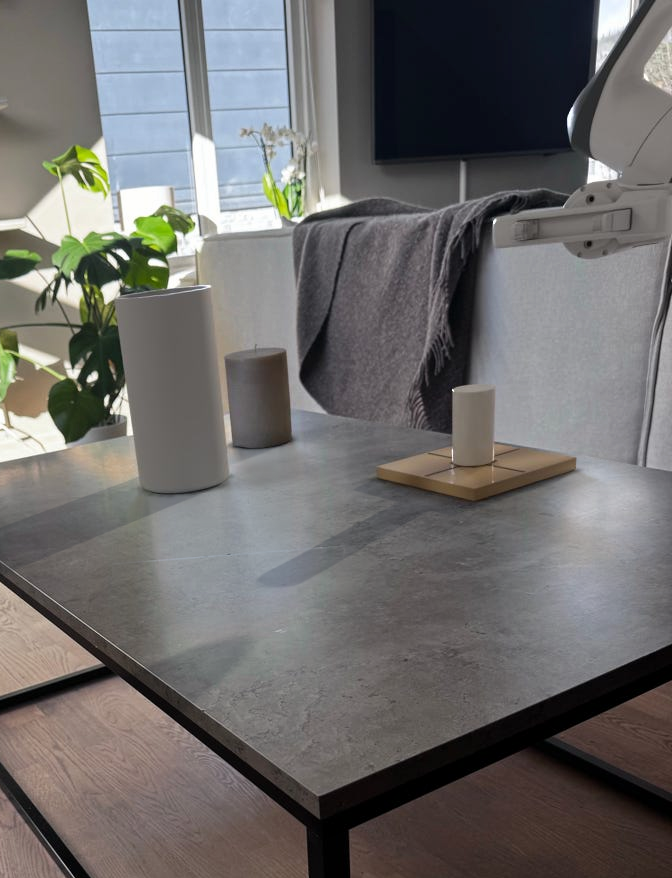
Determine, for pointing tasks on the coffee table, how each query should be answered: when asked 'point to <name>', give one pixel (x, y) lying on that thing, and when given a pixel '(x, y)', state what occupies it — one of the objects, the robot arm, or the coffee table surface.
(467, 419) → the white cylinder
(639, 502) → the coffee table surface
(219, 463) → the cylinder vase
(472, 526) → the coffee table surface
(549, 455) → the game board
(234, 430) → the pillar candle
